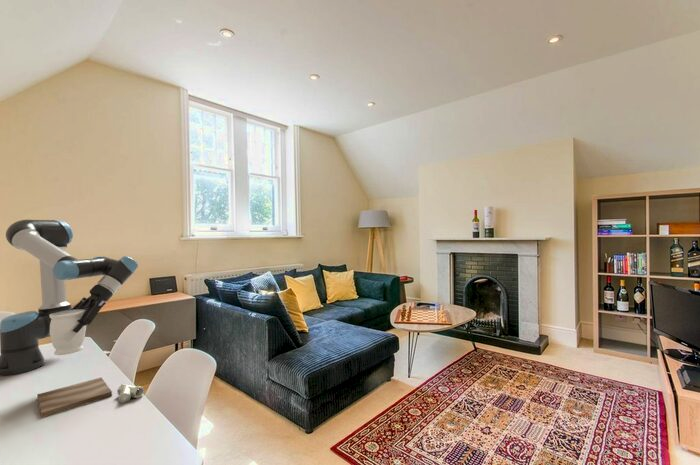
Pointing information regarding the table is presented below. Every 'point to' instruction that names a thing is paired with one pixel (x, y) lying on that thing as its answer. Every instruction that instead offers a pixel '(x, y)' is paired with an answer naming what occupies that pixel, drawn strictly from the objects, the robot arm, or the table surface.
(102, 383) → the walnut board
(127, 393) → the pipe fitting
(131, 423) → the table surface
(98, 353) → the table surface
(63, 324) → the jar
